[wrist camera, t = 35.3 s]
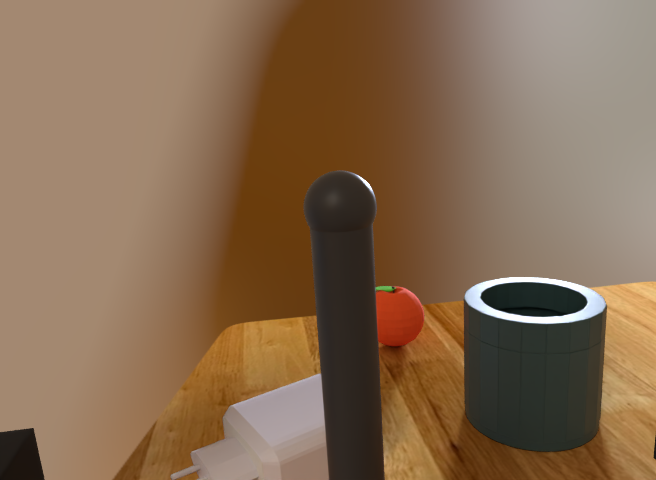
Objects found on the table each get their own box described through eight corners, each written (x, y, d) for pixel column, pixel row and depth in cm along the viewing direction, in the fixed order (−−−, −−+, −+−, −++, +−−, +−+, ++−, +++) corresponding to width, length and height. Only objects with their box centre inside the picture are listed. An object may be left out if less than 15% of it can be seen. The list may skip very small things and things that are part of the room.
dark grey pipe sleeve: (514, 465, 43) (516, 333, 40) (442, 397, 54) (440, 288, 51) (630, 432, 46) (639, 308, 44) (541, 373, 57) (544, 270, 54)
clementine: (347, 347, 66) (343, 290, 64) (377, 326, 71) (374, 273, 69) (408, 361, 61) (405, 300, 59) (434, 338, 67) (433, 281, 65)
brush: (339, 729, 26) (295, 184, 20) (310, 638, 30) (267, 171, 24) (431, 691, 27) (418, 171, 21) (391, 610, 32) (370, 160, 26)
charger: (161, 480, 44) (321, 415, 52) (201, 553, 37) (382, 465, 44) (152, 427, 43) (317, 368, 51) (192, 491, 35) (379, 411, 43)
